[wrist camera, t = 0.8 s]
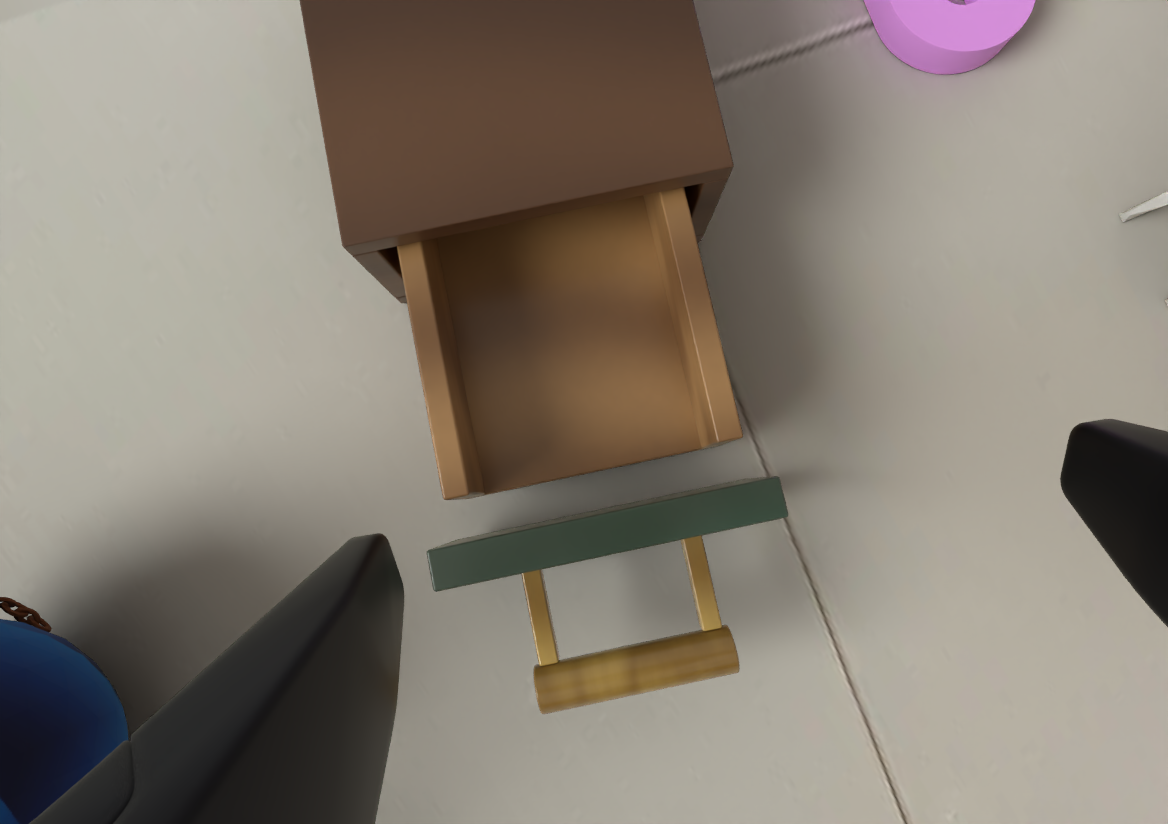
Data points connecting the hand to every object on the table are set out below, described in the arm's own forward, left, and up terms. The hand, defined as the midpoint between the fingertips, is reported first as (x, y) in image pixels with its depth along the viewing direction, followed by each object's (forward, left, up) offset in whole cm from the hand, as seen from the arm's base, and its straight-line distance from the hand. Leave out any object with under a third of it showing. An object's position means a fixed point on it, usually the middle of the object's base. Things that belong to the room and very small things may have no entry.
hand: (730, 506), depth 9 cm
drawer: (+3, 0, -15) cm, 15 cm away
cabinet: (+14, -7, -16) cm, 22 cm away
